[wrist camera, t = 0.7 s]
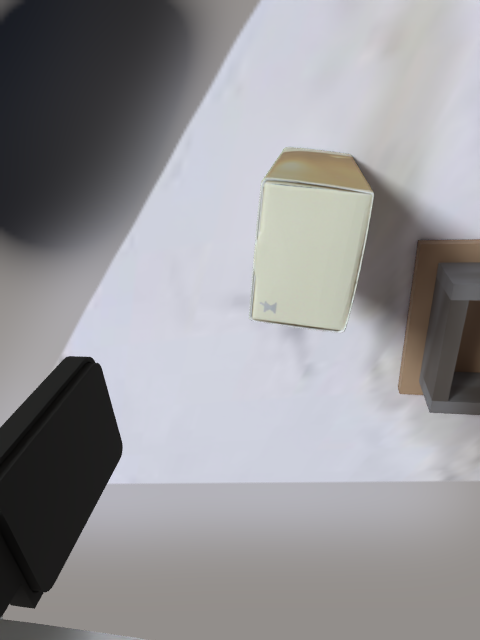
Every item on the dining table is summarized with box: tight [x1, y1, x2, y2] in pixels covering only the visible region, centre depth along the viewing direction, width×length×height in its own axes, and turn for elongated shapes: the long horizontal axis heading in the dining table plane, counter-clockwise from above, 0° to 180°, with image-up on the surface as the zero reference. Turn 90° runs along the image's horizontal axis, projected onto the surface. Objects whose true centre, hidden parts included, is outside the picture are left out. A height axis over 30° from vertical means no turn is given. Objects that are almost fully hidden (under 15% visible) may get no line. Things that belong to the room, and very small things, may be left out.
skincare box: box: [249, 147, 374, 333], centre depth 22 cm, size 6×4×12 cm
